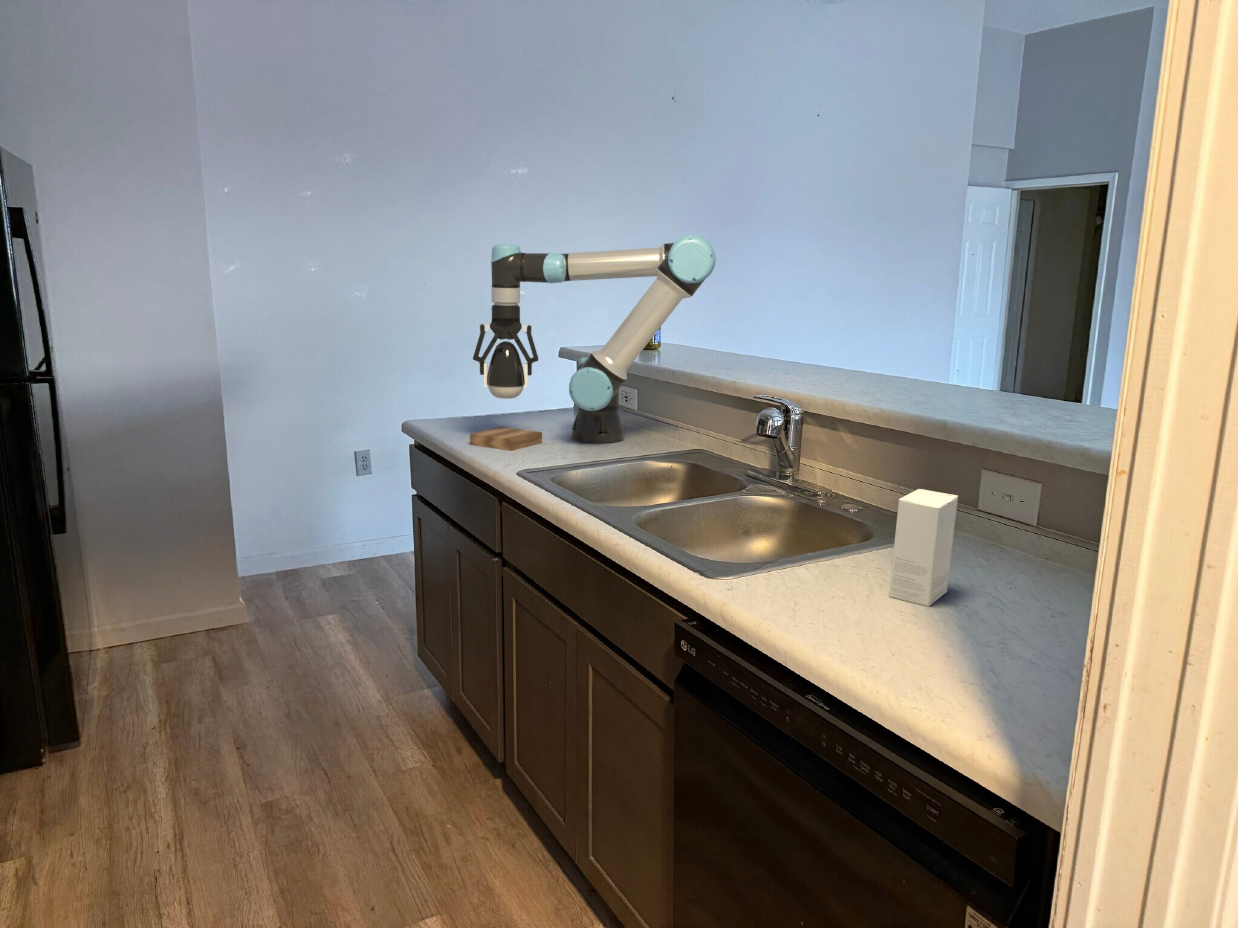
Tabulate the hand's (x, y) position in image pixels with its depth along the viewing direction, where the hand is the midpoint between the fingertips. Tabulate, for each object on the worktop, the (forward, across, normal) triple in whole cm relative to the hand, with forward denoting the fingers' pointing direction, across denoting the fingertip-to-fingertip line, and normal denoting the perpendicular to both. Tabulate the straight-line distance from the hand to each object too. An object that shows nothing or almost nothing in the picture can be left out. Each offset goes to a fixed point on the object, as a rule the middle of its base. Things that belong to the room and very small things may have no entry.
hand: (505, 387), depth 242 cm
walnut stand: (+16, 0, 0) cm, 16 cm away
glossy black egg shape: (+3, 0, 0) cm, 3 cm away
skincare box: (+16, -65, +120) cm, 137 cm away
